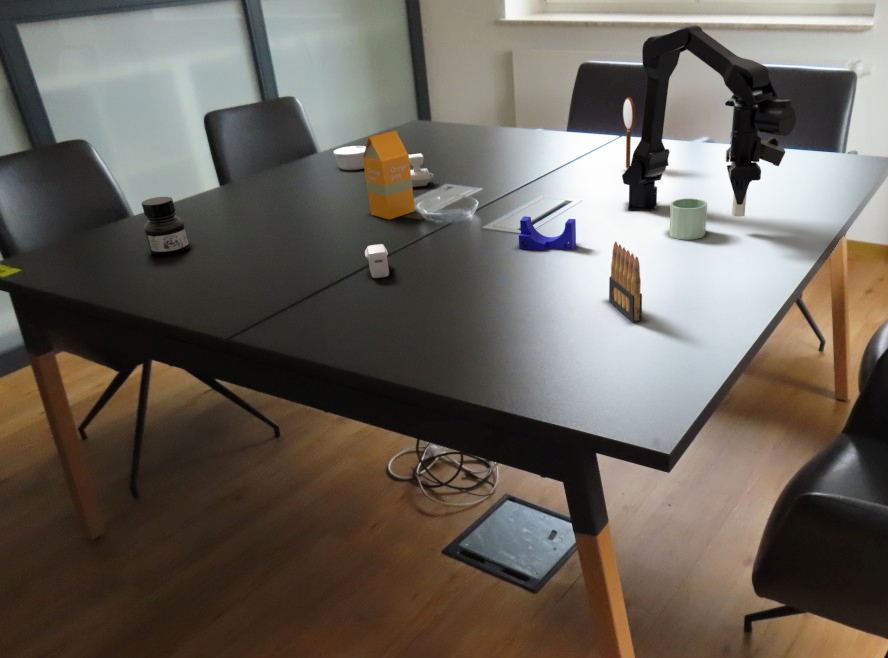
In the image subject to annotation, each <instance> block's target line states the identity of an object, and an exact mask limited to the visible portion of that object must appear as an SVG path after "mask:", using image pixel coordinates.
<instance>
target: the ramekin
mask: <svg viewBox="0 0 888 658" xmlns="http://www.w3.org/2000/svg"><path fill="white" fill-rule="evenodd" d="M365 149H366V146H365V145H352V146H350V145H349V146H344V147H340V148H336V149H335V150H333V155H334V157H335V160H336V163H337V166H338V167H339V169H340V170H343V171H344V170H345V171H357V170H363V169H364V162H363V156H364V152H365Z"/></svg>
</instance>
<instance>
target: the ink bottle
mask: <svg viewBox="0 0 888 658" xmlns="http://www.w3.org/2000/svg"><path fill="white" fill-rule="evenodd" d="M141 206H142V211H143V213H144V214H143V215H144V216H145V219H146V222H145V223H144V226H143V229H144V233H145V236H146V240H147V244H148V246H149V250H150V252H151V254H152V255H155V256H161V257H164V256H172V255H176V254H181V253H183V252H185V251H187V250H188V249H189V248H190V242H189V238H188V234H187V231H186V227H185V223H184V221H183V220H182V218H180V217H178V216H177V215H176V214H177V212H176V207H175V204H174V200H173V198H172V197H171V196H156V197H151V198H147V199H145V200H143V201H141Z"/></svg>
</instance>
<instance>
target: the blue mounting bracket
mask: <svg viewBox="0 0 888 658" xmlns="http://www.w3.org/2000/svg"><path fill="white" fill-rule="evenodd" d="M576 221H577V220H576V218H568V219H567V220H566V221H565V222H564V229H563V231H562V233H561V234H559V235H557V236H546V235H544V234H542V233H540V232H539V231H538V230H537V229H536V228H535V227H534V225H533V222H532V217H531V216H523V217H522V218H521V219H520V221H519V225H520V227H519V228H520V233H519V234H518V248H519V249H520V250H534V251H546V250H547V249H555V250H574V249H575V247H576V246H577V226H576V225H577V222H576Z"/></svg>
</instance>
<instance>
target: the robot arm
mask: <svg viewBox="0 0 888 658" xmlns="http://www.w3.org/2000/svg"><path fill="white" fill-rule="evenodd" d="M641 49H642V50H641V51H642V53H641V55H642V67H643V70H644V72H645V74H646V78H647V79H646V89H645V100H644V108H643V116H642V118H643V119H642V125H641V137H640V141H639V142H638V144H637V146H636V147H635V149H634V150H633V154H632V157H631V161H630V167H629V168H628V169H627V168H626V170H625V171H624V172H623V173H622V175H621V178H622V182H623V185H627V186H628V205H627V210H628V211H654V210H655V207H656V206H657V203H658V202H657V200H658V186H656V181H661V179H662V176H663V173H664V172H665V171H666V169H667V167H669V156H670V152H671V151H670V149H669V148H665V144H664V143H663V134H664V127H665V118H666V117H665V116H666V109H667V99H668V92H669V83H670V78H671V76H672V74H673V72H674V71H675V69H676V68H677V66H678V64H679V60H680V56H681V53H683V52H686V51H688V52H690V53H691V54H692V55H693V56H695V57H696V58H697V59H699V60H700V61H702V62H703V63H704V64H706V65H707V66H708V67H709V68H711V69H712V70H713V71H715V72H716V73H717V74H719V75H720V76H721V78H722V79H723V82H724V86H725V87H726V88H727V89H728V90H729V91H730V92H731V93H732V96H731V97H730V98H729V99H728V100H726V102H725V103H724V104H725V106H726V107H731V108H732V107H733V112H732V124H731V132H730V147H729V148H727V149H726V151H725V162H726V163H729V162H730V164H728V165H726V169H727V173H728V178H729V181H730V185H731V188H732V193H733V194H734V195H735V198H736V202H737V204H738V205H742V204H743V201H744V198H745V195H746V192H747V193H748V189H749V185H750V183H751V182H752V181H761V178H762V177H761V176H762V169H761V166H760V165H759V164H758V163H760V160H761V161H765V162H767V163H769V164H772V165H773V166H776V167H779V166H780V165H781V163H782V161H783V158H784V157H785V155H786V150H785V148H784V147H783V146H782V145H779V139H778V138H776V137H774V136H770V137H769V138H768V139H767V140H765V139H764V140H763V139H762V136H761V134H760V133H762V134H769V135H776V136H782V137H787V136H789V135H790V134H791V133H792V131H793V130H794V128H795V125H796V121H797V115H796V111H795V108H794V107H793V106H792V102H793V101H792V100H791V99H779V96H778V94H777V91H776V89H775V87H774V85H773V82H772V80H771V78H770V74H769V73H770V71H769V69H768V68H767V67H766V66H765V65H764V64H761V63H759V62H757V61H755V60H752V59H748V58H745V57H740V56H739V55H737V54H735V53H734V52H732V51H731V50H730V49H728V48H727V47H726V46H724V45H723V44H721V43H720V42H719V41H718V40H716V39H715V38H713V37H711V35H709V34H708V33H706V31H704V30H703V29H702V27H701V26H699V25H696V24H694V25H688V26H687V25H686V26H682V27H681V28H679V29H677V30H675V31H673V32H669V33H665V34H660V35H659V34H658V35H654V36H650V37H648V38H647V39H646V40H644V42H643V44H642V47H641ZM746 196H747V195H746Z"/></svg>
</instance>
